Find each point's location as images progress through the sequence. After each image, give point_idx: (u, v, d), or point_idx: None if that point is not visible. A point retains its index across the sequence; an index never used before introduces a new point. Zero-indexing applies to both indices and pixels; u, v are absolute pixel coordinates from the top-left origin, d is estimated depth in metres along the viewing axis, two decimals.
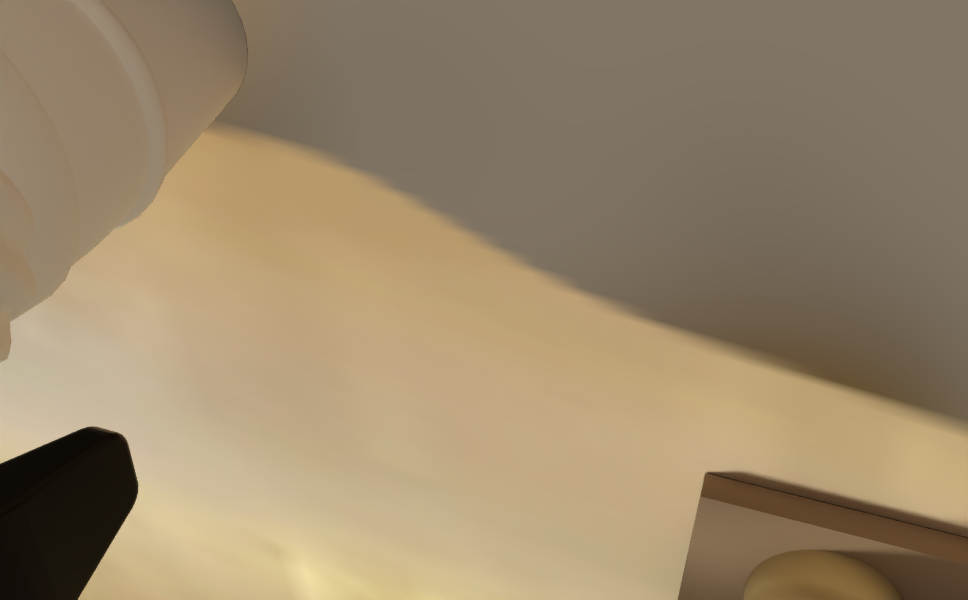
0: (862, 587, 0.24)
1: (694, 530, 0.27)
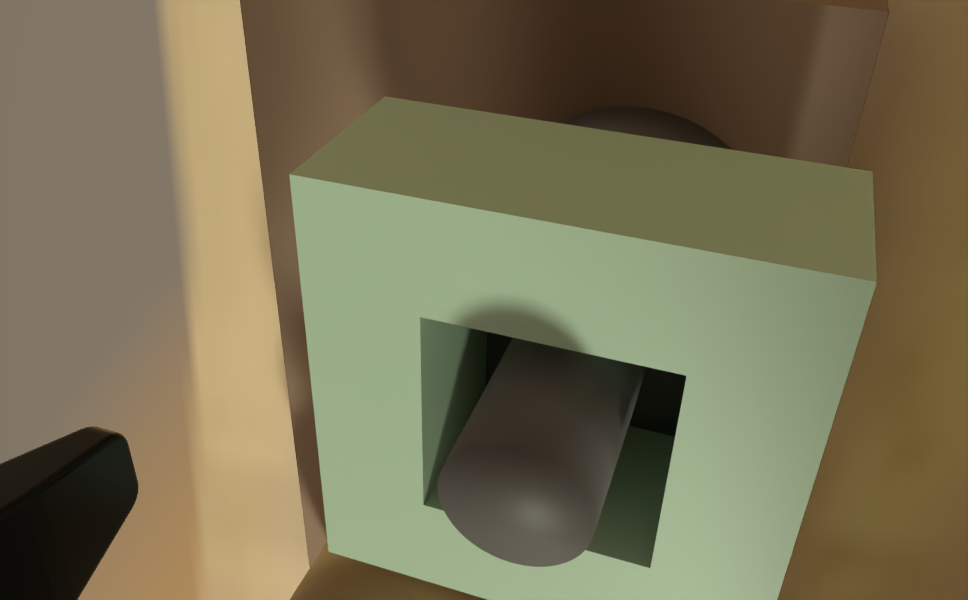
0: None
1: None
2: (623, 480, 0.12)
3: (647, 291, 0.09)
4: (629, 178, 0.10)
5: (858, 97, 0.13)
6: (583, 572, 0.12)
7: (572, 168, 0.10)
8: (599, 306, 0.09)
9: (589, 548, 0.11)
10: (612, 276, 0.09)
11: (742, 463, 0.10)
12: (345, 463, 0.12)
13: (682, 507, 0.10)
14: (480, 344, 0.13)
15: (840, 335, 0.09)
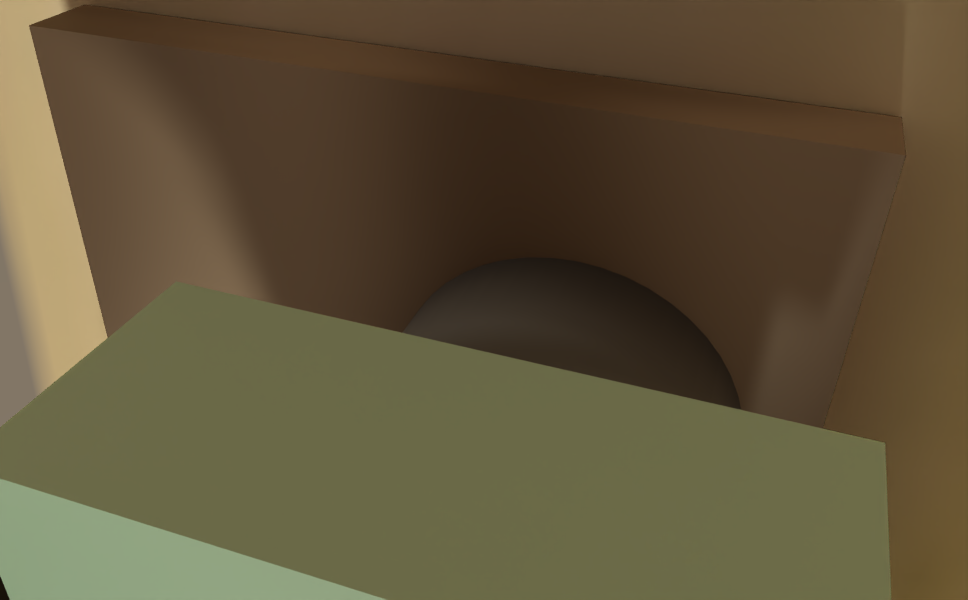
0: None
1: None
2: None
3: None
4: (499, 467, 0.06)
5: (862, 264, 0.09)
6: None
7: (413, 443, 0.06)
8: None
9: None
10: None
11: None
12: None
13: None
14: None
15: None
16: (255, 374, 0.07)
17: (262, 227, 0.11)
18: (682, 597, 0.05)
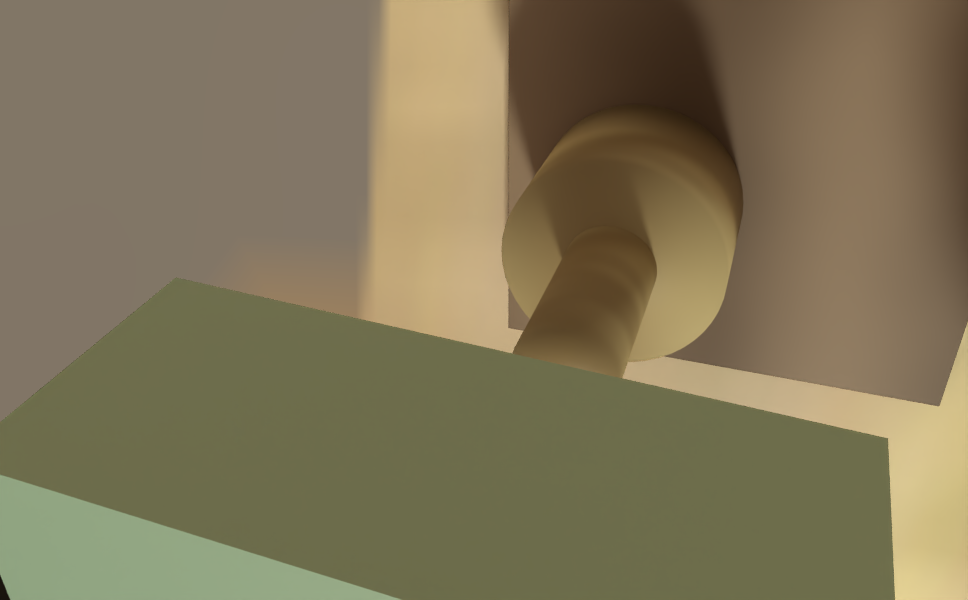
0: None
1: None
2: None
3: None
4: (501, 462, 0.06)
5: None
6: None
7: (413, 438, 0.06)
8: None
9: None
10: None
11: None
12: None
13: None
14: None
15: None
16: (255, 370, 0.07)
17: None
18: (684, 592, 0.05)
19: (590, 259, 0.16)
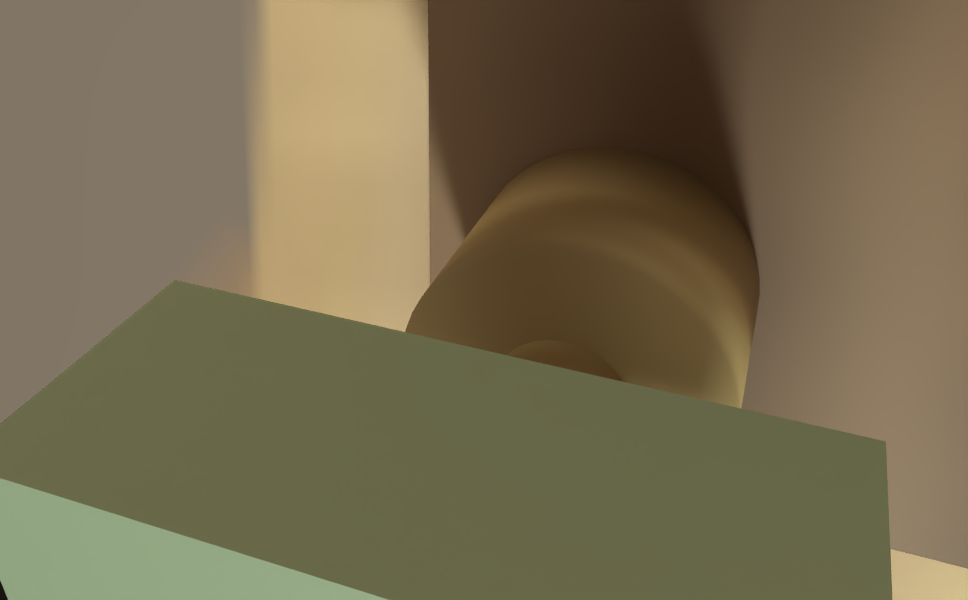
0: None
1: None
2: None
3: None
4: (499, 465, 0.06)
5: None
6: None
7: (411, 441, 0.06)
8: None
9: None
10: None
11: None
12: None
13: None
14: None
15: None
16: (254, 373, 0.07)
17: None
18: (682, 596, 0.05)
19: None
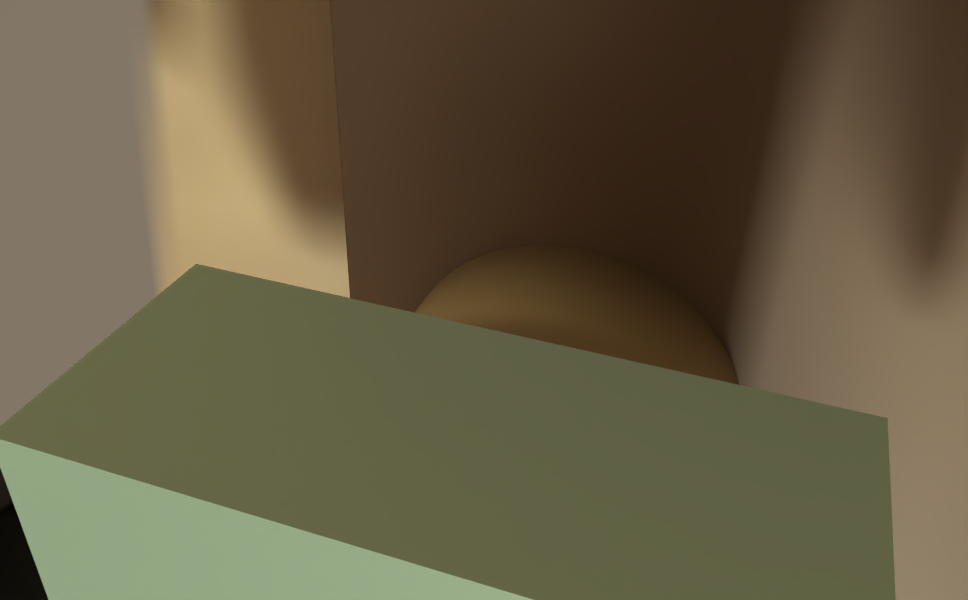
0: None
1: None
2: None
3: None
4: (515, 439, 0.06)
5: None
6: None
7: (430, 417, 0.07)
8: None
9: None
10: None
11: None
12: None
13: None
14: None
15: None
16: (276, 352, 0.07)
17: None
18: (693, 560, 0.06)
19: None
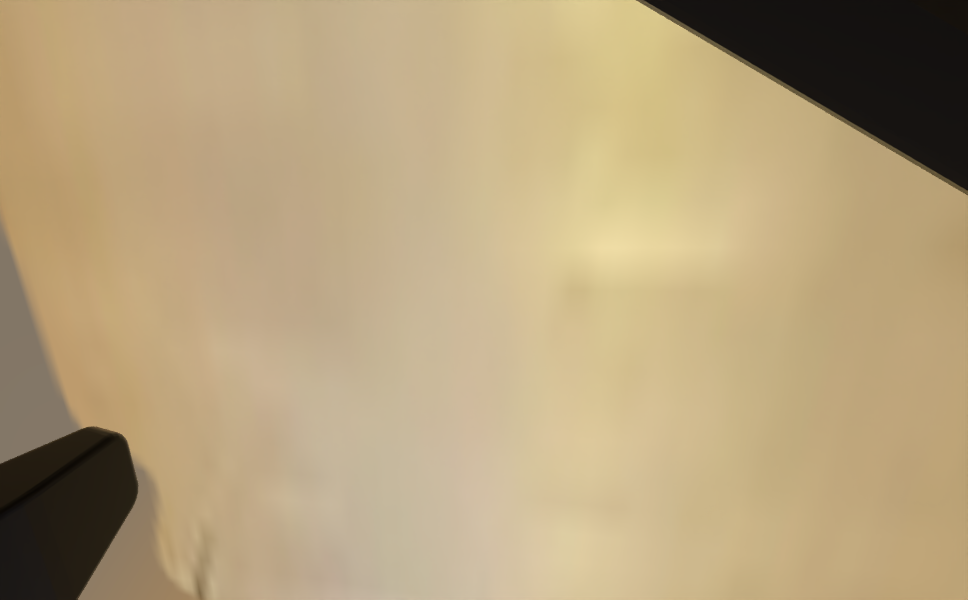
0: None
1: None
2: None
3: None
4: None
5: None
6: None
7: None
8: None
9: None
10: None
11: None
12: None
13: None
14: None
15: None
16: None
17: None
18: None
19: None
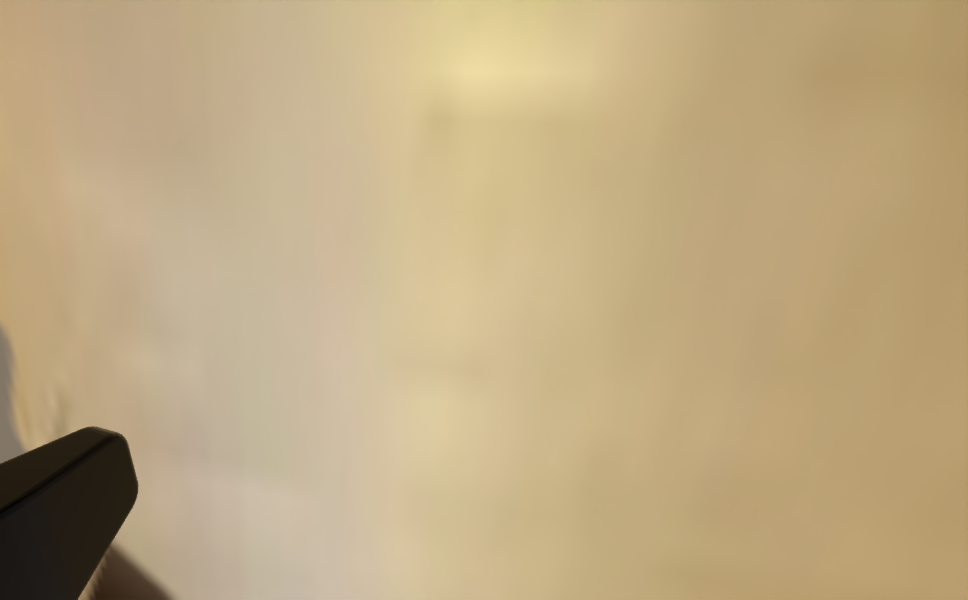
0: None
1: None
2: None
3: None
4: None
5: None
6: None
7: None
8: None
9: None
10: None
11: None
12: None
13: None
14: None
15: None
16: None
17: None
18: None
19: None
